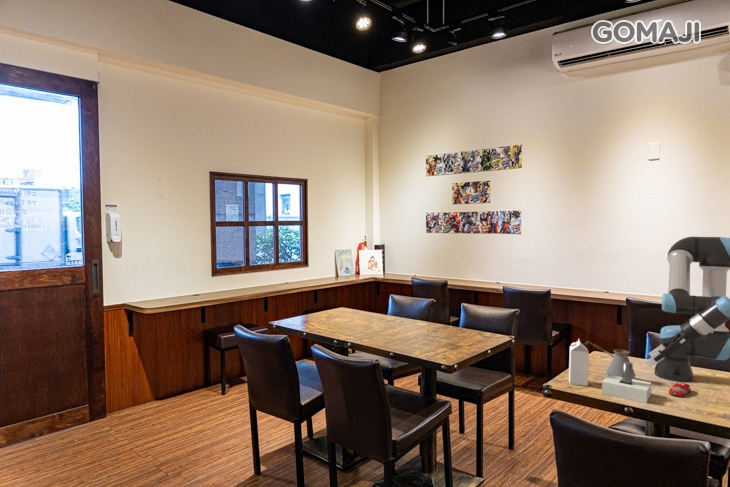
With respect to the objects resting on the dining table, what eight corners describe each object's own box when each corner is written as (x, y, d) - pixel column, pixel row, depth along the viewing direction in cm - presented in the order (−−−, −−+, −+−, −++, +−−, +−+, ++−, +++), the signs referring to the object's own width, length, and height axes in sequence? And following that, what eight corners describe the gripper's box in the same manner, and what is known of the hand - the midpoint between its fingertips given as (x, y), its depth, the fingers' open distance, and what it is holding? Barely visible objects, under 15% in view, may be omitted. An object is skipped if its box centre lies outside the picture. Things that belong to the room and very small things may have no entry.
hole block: (601, 393, 196) (602, 381, 196) (608, 385, 206) (608, 374, 205) (646, 403, 186) (646, 390, 186) (651, 394, 196) (651, 382, 195)
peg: (625, 392, 198) (626, 361, 198) (633, 395, 195) (634, 363, 194) (619, 393, 197) (620, 362, 196) (627, 396, 193) (628, 364, 193)
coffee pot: (638, 379, 214) (639, 346, 214) (630, 385, 206) (631, 351, 205) (589, 368, 229) (590, 338, 229) (580, 374, 221) (581, 342, 220)
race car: (681, 399, 191) (682, 389, 191) (666, 395, 196) (666, 386, 195) (692, 392, 200) (693, 382, 200) (678, 388, 204) (678, 379, 204)
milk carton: (585, 381, 211) (587, 339, 210) (587, 386, 205) (589, 343, 204) (568, 379, 214) (569, 337, 213) (569, 384, 207) (571, 341, 206)
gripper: (704, 343, 169) (654, 376, 179) (704, 329, 189) (659, 360, 199) (687, 326, 172) (638, 360, 181) (688, 314, 192) (645, 345, 202)
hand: (649, 360), depth 190 cm, fingers open, 13 cm apart
